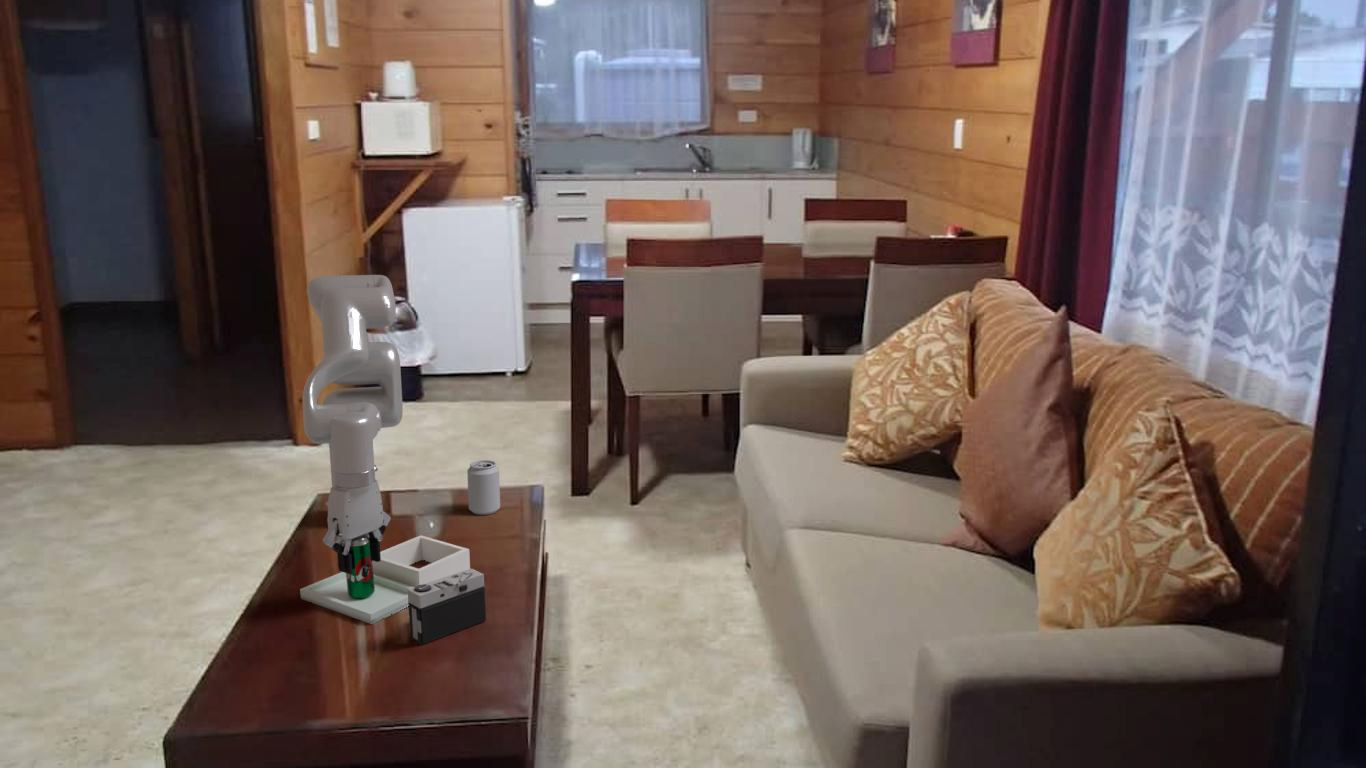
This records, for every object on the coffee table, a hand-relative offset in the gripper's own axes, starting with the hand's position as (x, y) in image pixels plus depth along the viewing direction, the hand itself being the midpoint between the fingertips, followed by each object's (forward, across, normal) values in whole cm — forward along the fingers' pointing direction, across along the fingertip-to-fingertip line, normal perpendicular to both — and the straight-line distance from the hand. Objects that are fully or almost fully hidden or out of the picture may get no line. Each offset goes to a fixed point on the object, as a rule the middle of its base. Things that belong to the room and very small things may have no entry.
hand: (360, 565), depth 207 cm
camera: (+7, 0, +22) cm, 23 cm away
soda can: (+6, 0, 0) cm, 6 cm away
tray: (+7, 0, 0) cm, 7 cm away
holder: (+7, -14, +1) cm, 16 cm away
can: (+7, -50, -15) cm, 53 cm away
